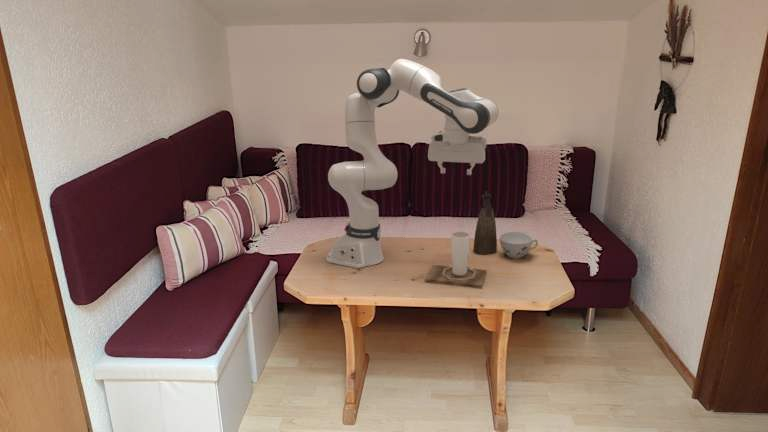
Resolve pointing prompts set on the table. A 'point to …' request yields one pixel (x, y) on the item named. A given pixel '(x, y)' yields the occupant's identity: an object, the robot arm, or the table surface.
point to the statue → (485, 229)
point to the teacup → (516, 244)
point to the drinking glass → (460, 252)
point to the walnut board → (456, 277)
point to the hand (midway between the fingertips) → (455, 174)
